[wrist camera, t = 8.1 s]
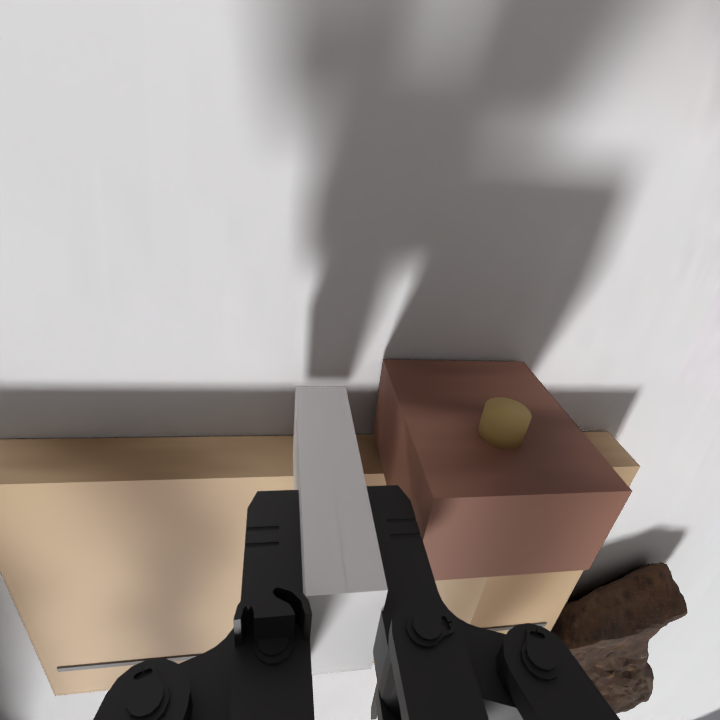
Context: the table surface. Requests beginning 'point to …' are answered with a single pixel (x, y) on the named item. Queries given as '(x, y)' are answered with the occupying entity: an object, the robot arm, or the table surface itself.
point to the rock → (621, 631)
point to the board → (171, 546)
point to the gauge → (492, 473)
